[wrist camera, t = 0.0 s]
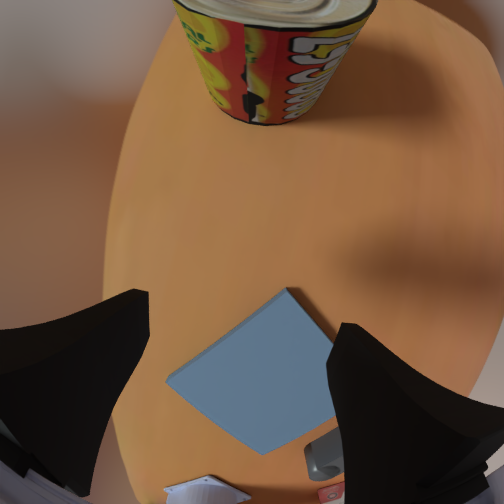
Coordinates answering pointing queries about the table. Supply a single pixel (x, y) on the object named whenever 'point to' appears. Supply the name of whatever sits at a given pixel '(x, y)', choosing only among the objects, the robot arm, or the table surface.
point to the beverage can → (270, 51)
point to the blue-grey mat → (263, 377)
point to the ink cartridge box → (332, 494)
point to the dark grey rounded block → (325, 456)
